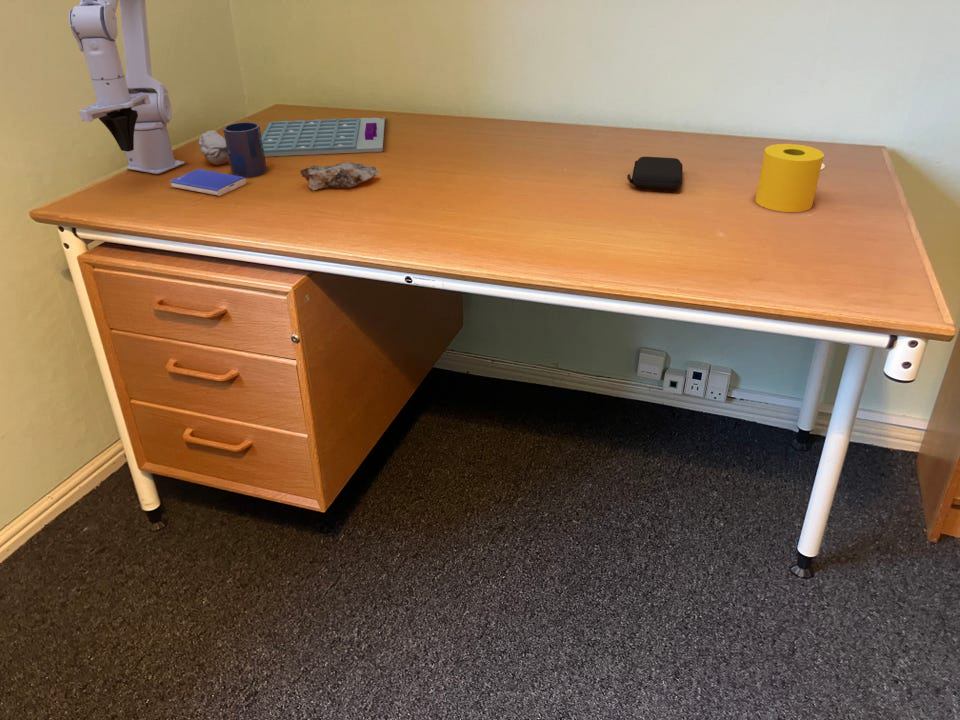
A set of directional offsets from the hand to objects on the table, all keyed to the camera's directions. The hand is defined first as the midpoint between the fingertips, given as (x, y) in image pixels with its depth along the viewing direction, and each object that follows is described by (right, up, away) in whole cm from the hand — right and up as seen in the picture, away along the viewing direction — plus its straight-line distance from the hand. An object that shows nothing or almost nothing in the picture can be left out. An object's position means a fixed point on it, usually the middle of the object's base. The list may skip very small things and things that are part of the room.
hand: (127, 150), depth 146 cm
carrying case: (+103, -5, +6) cm, 104 cm away
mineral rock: (+40, -5, +7) cm, 41 cm away
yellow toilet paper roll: (+125, -11, -5) cm, 126 cm away
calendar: (+31, +13, +35) cm, 48 cm away
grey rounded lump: (+11, +2, +19) cm, 22 cm away
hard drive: (+13, -5, +7) cm, 16 cm away
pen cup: (+19, -1, +14) cm, 24 cm away
